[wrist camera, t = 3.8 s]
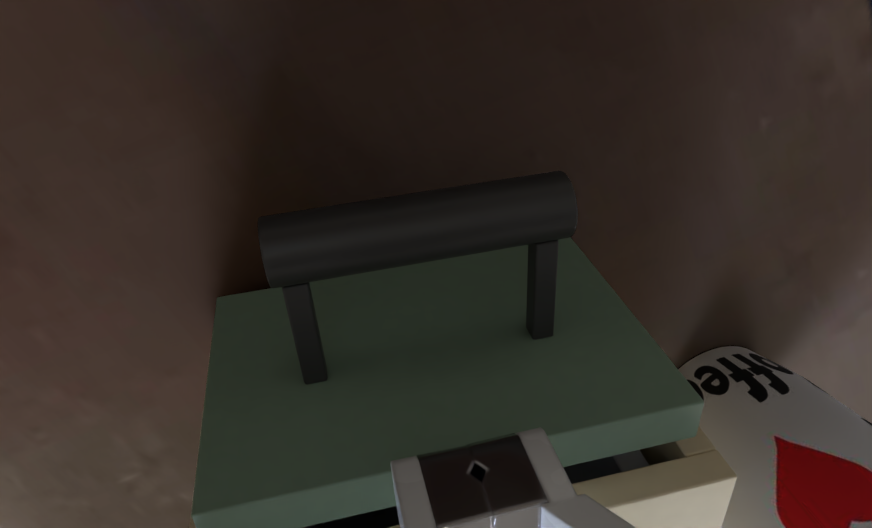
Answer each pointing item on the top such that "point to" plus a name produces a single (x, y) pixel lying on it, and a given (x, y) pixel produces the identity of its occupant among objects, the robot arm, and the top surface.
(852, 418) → the cup
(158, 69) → the top surface
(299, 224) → the green drawer
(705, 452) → the drawer box
